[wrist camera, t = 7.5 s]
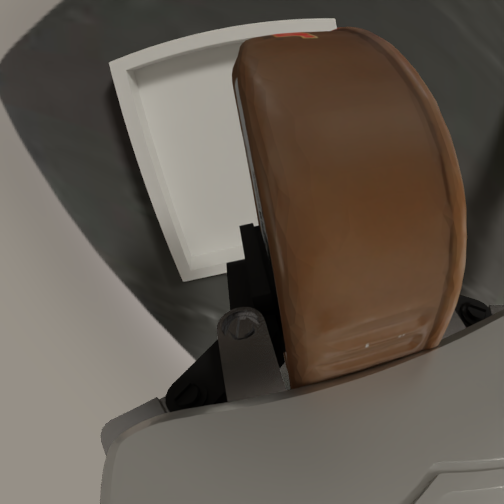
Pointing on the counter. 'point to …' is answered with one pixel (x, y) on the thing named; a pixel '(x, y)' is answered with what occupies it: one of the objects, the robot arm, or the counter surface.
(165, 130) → the white tray
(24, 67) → the counter surface
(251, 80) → the tin
